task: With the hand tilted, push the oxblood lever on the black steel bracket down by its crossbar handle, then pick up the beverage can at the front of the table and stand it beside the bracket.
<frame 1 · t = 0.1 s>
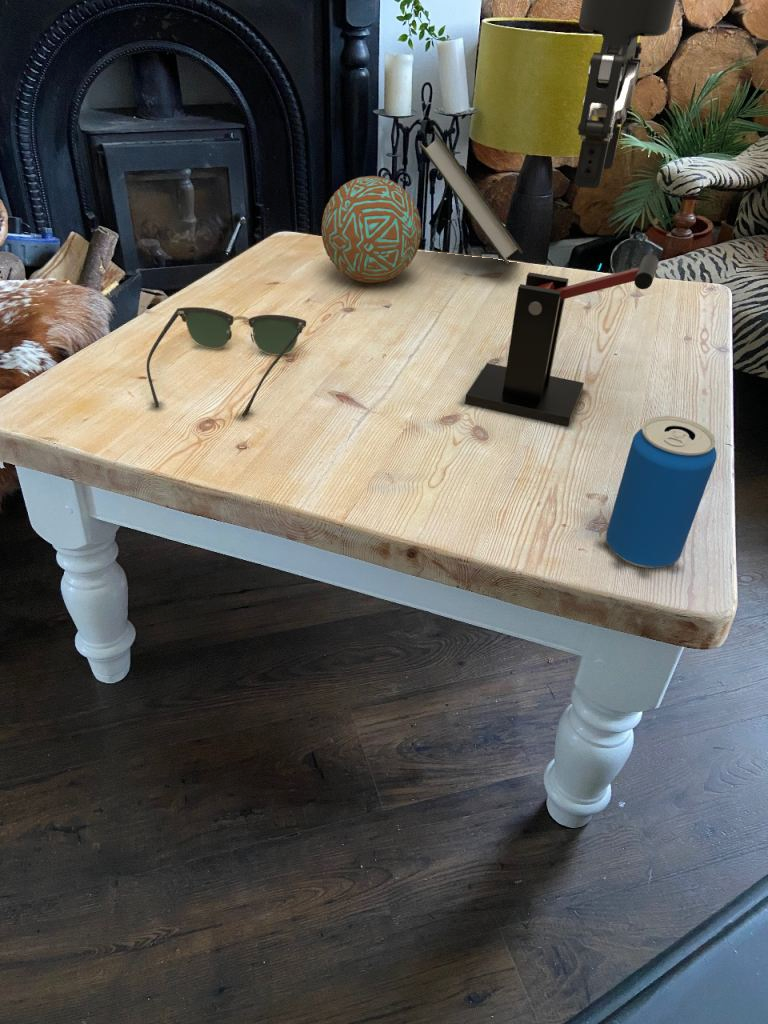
hand: (594, 176, 70), 25 cm above the table, tool pointing down, fingers open, 8 cm apart
decorative sphere: (370, 281, 116), on the table
beverage can: (640, 551, 66), on the table
book: (465, 208, 118), point 9 cm above the table
sunglasses: (224, 379, 89), on the table
lever: (589, 286, 77), point 14 cm above the table, hinge at 25.0°
bracket: (524, 397, 87), on the table
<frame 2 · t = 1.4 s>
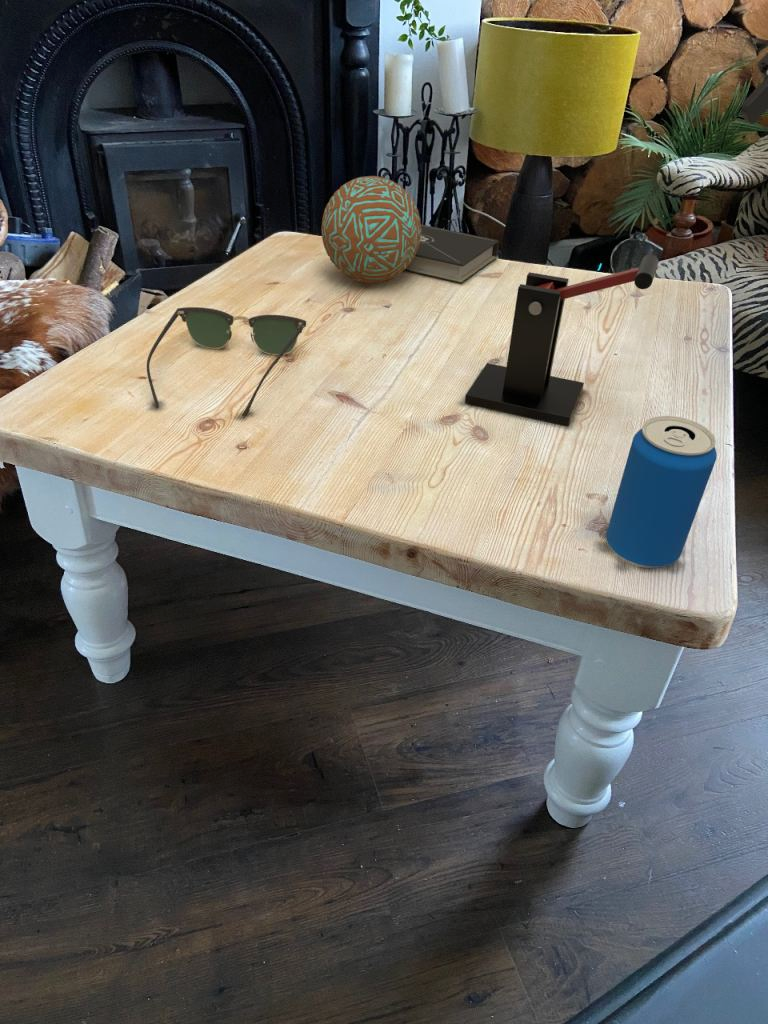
book: (421, 258, 125), on the table
everything else where it was.
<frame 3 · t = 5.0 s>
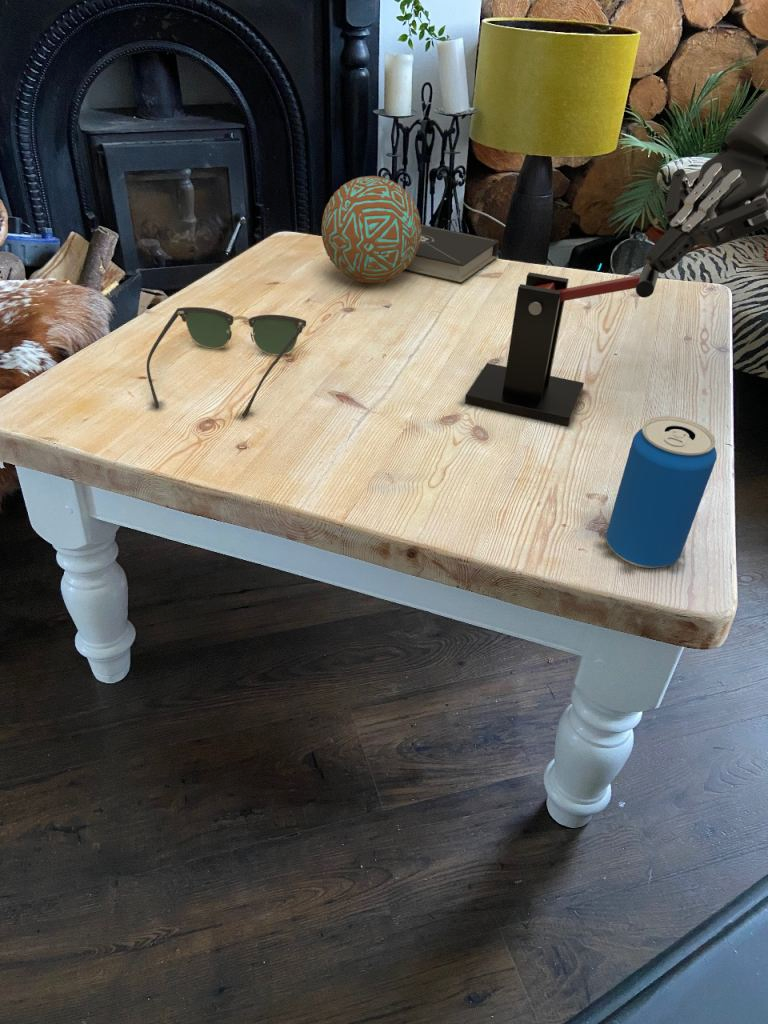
hand: (653, 266, 74), 17 cm above the table, tool tilted 45°, fingers closed
lever: (590, 290, 78), point 14 cm above the table, hinge at 20.6°, touching gripper
everything else where it was.
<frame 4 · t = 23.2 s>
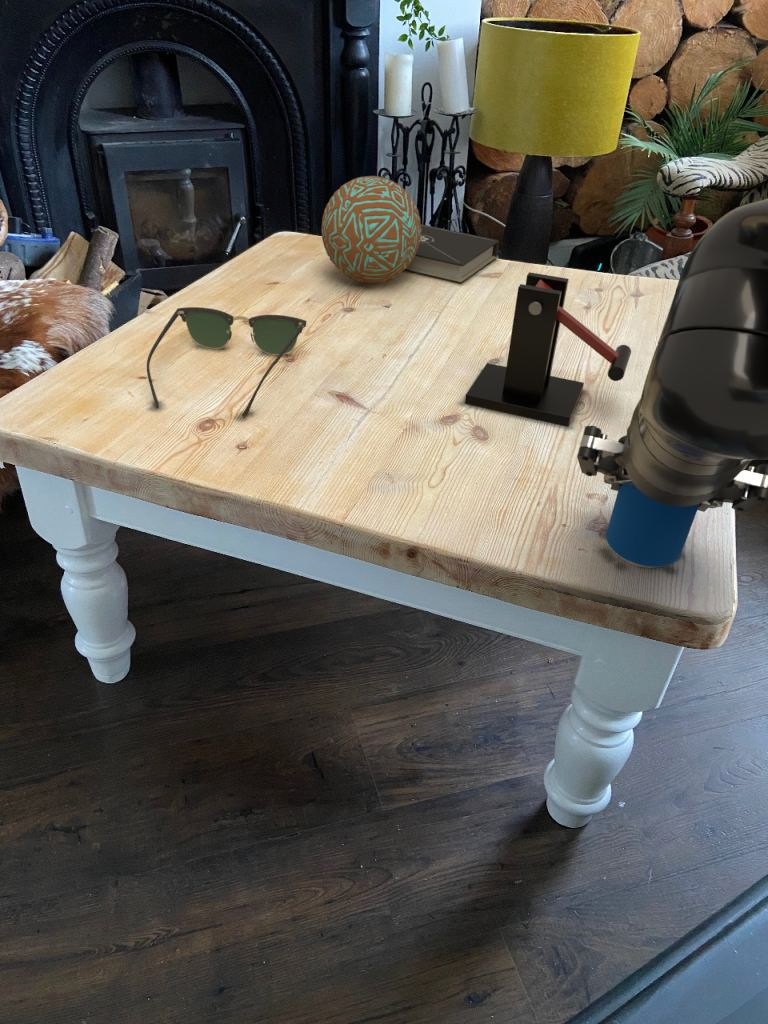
hand: (658, 488, 64), 6 cm above the table, tool tilted 45°, fingers closed on beverage can, 6 cm apart
beverage can: (640, 551, 66), on the table, touching gripper
lever: (578, 329, 80), point 9 cm above the table, hinge at -29.6°
everything else where it was.
when the fingers open (6 cm above the table, at t = 31.1 s): beverage can stays where it is, on the table.
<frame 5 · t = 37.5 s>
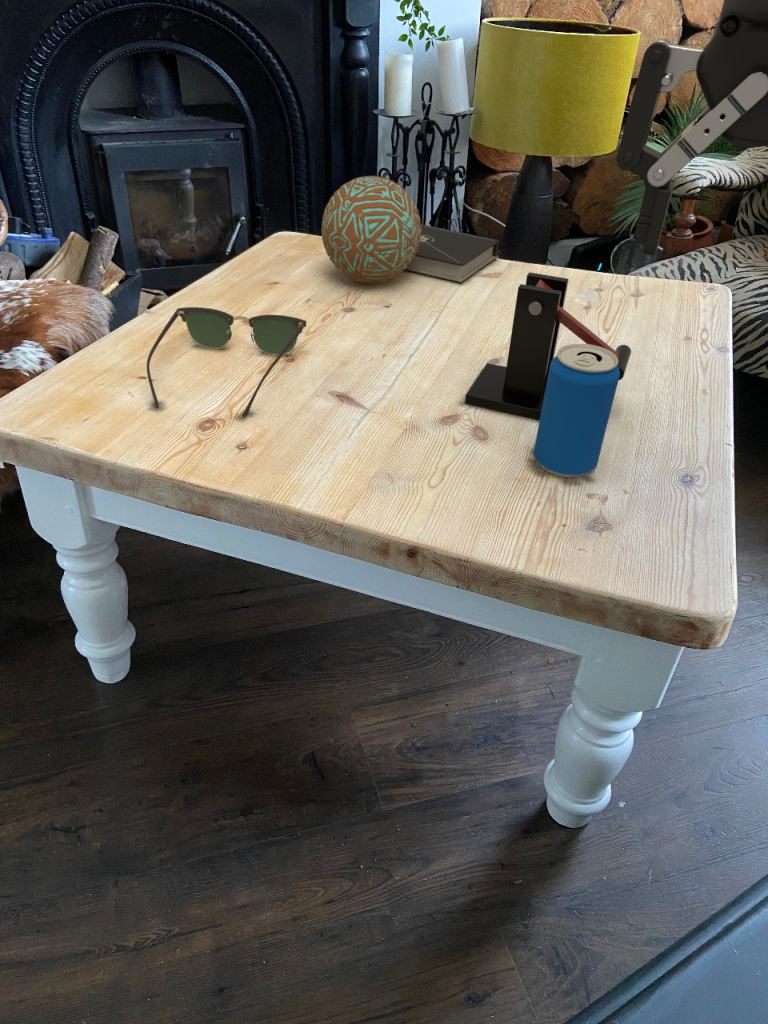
hand: (726, 263, 42), 28 cm above the table, tool pointing down, fingers open, 8 cm apart
beverage can: (563, 465, 77), on the table
everything else where it was.
at the end: lever at -30° (first picture: +25°); beverage can 0.1 cm from the target spot on the table beside the bracket, on the table; beverage can tilted 0° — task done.
